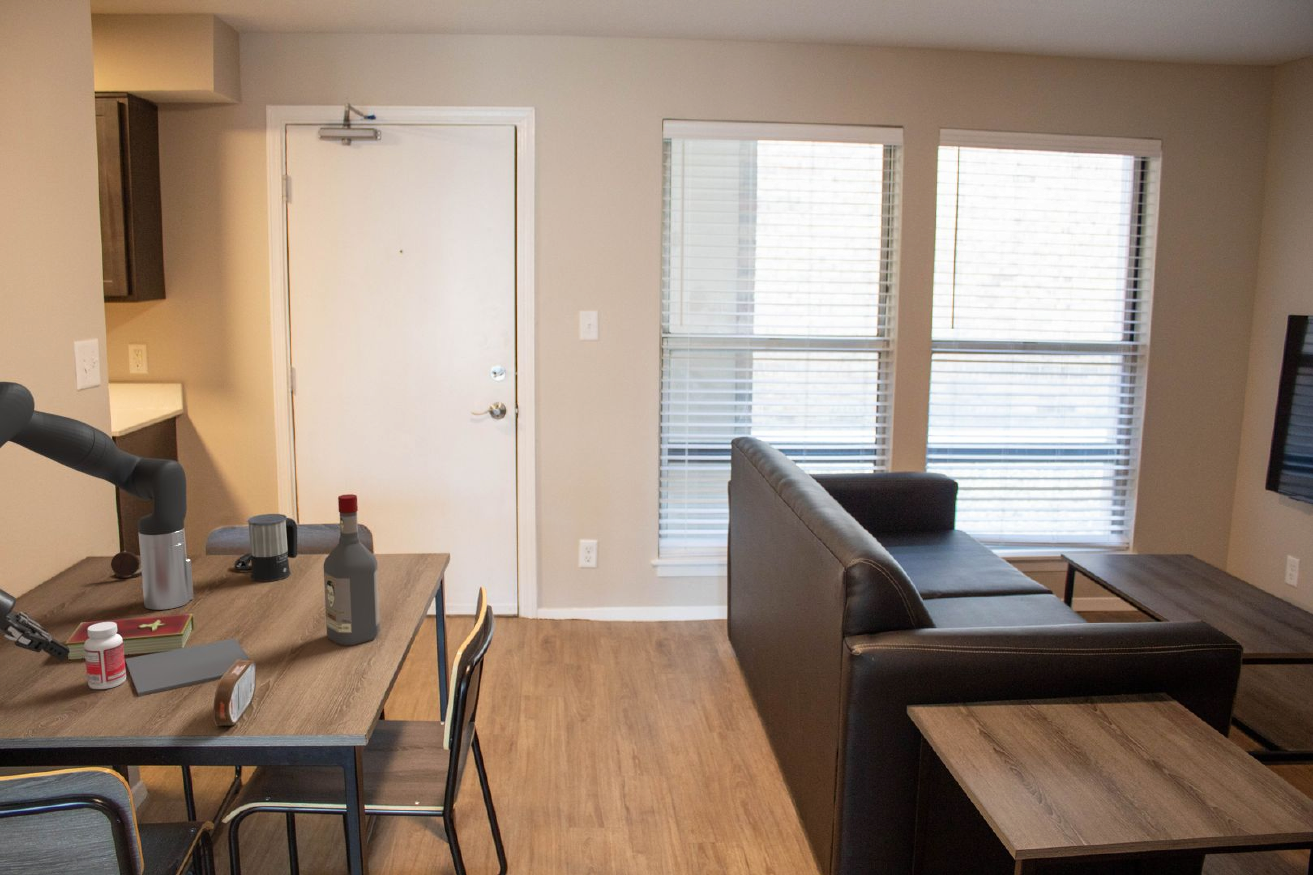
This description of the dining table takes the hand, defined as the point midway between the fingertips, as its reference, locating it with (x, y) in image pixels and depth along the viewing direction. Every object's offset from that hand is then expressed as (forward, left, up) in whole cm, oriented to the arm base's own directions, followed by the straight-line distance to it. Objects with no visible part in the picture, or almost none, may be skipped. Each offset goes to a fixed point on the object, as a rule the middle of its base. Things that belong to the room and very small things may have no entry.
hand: (65, 654), depth 177 cm
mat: (-17, +10, -7) cm, 21 cm away
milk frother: (-65, -23, -7) cm, 69 cm away
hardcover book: (-20, -10, -8) cm, 23 cm away
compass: (-48, -50, -7) cm, 69 cm away
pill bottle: (-5, +3, -7) cm, 9 cm away
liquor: (-43, +27, -7) cm, 51 cm away
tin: (-7, +34, -7) cm, 36 cm away
